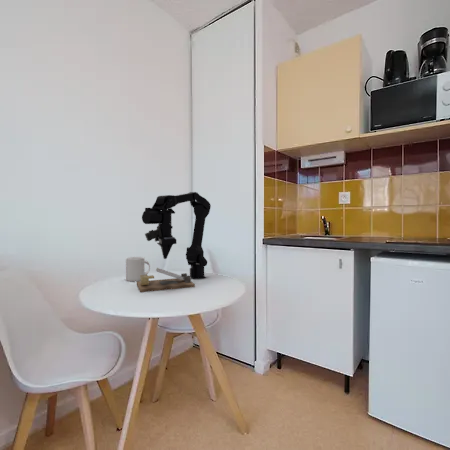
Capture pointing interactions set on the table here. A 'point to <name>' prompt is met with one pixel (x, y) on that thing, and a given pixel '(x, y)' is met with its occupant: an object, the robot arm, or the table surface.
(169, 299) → the table surface
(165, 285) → the base
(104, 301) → the table surface
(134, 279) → the mug
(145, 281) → the gold t-shaped block
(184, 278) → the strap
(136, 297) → the table surface
